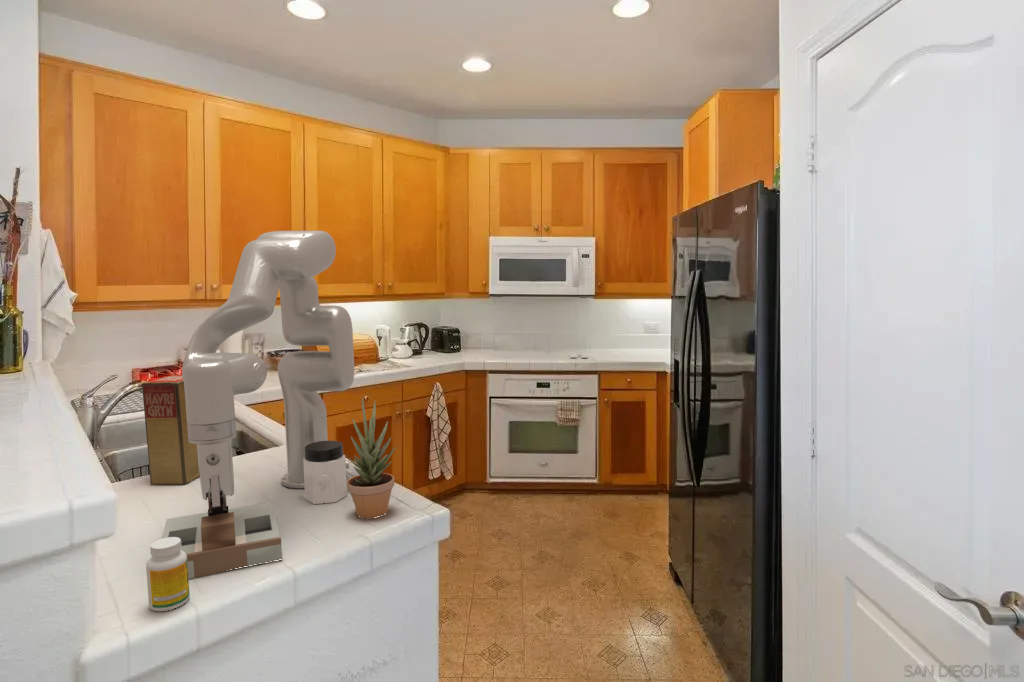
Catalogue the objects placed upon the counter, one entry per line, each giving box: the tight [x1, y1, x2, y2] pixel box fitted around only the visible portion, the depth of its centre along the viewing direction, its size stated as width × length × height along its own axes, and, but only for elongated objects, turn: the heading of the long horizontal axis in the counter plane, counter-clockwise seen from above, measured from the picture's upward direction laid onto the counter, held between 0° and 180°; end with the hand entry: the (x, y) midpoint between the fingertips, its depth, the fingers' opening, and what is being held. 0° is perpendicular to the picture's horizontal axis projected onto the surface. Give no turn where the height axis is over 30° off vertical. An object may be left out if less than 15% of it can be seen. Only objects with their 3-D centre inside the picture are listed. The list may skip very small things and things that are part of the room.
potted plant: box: [346, 396, 397, 519], centre depth 123 cm, size 10×10×25 cm
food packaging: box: [141, 373, 200, 486], centre depth 149 cm, size 13×9×25 cm
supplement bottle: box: [145, 537, 191, 612], centre depth 90 cm, size 5×5×10 cm
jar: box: [303, 440, 348, 505], centre depth 133 cm, size 9×8×12 cm
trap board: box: [161, 501, 283, 580], centre depth 109 cm, size 19×22×4 cm
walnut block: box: [201, 512, 236, 551], centre depth 102 cm, size 5×5×5 cm
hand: (219, 530), depth 107 cm, fingers closed
